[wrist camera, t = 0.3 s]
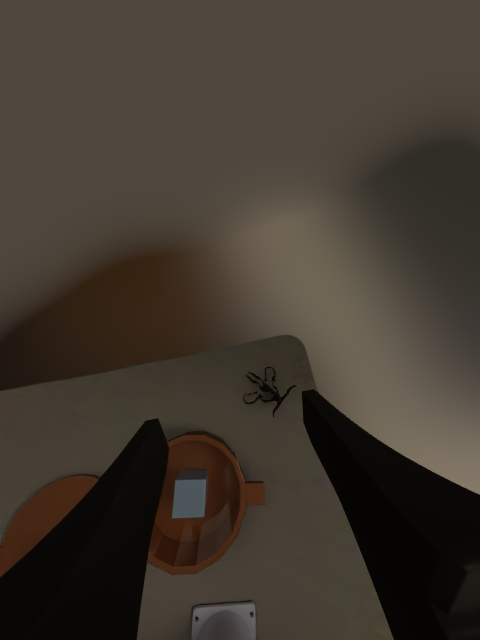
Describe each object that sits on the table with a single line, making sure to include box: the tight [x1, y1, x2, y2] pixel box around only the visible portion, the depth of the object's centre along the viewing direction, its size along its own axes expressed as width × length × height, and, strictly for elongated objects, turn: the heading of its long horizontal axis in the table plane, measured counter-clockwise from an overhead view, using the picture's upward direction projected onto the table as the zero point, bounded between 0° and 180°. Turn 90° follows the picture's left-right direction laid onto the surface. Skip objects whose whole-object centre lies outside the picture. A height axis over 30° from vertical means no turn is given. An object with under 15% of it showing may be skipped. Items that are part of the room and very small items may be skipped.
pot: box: [147, 431, 265, 575], centre depth 31 cm, size 14×20×6 cm
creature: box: [243, 367, 296, 417], centre depth 37 cm, size 8×5×8 cm
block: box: [172, 469, 208, 518], centre depth 31 cm, size 4×4×5 cm
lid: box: [0, 475, 100, 577], centre depth 27 cm, size 15×15×5 cm
